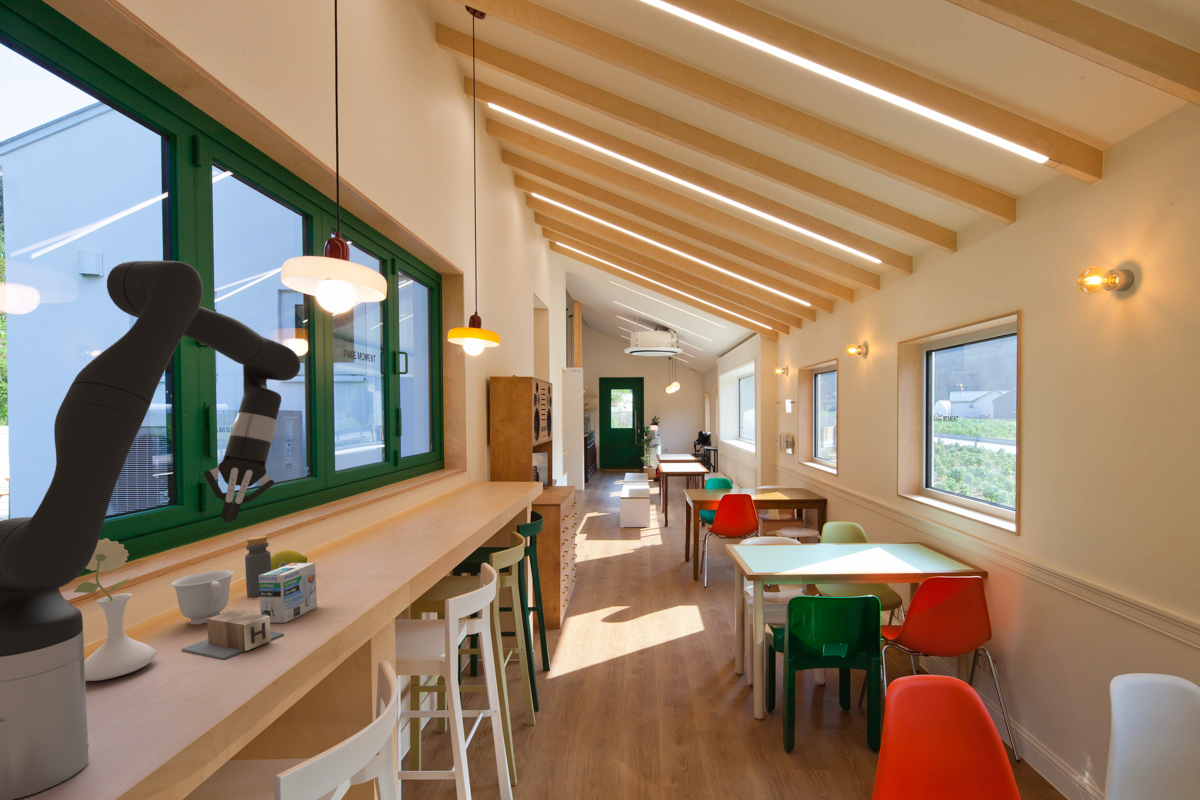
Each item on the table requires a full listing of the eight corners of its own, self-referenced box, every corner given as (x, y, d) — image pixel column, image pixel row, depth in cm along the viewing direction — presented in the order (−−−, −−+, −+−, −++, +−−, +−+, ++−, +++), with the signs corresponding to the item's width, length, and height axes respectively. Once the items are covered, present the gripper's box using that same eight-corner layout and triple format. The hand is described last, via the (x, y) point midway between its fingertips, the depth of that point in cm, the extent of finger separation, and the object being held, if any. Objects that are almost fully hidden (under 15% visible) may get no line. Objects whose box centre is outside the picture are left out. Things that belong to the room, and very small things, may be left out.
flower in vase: (172, 657, 109) (166, 528, 109) (120, 686, 97) (113, 542, 98) (107, 661, 109) (101, 533, 110) (47, 690, 98) (41, 546, 98)
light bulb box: (285, 623, 124) (282, 575, 124) (259, 623, 125) (256, 575, 125) (318, 606, 134) (316, 561, 135) (294, 606, 136) (292, 562, 136)
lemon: (260, 583, 159) (259, 555, 159) (275, 575, 167) (274, 549, 167) (299, 580, 160) (297, 552, 160) (312, 573, 167) (310, 546, 168)
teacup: (187, 636, 120) (185, 589, 120) (165, 624, 129) (163, 580, 129) (249, 617, 129) (247, 574, 130) (225, 607, 138) (223, 567, 139)
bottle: (248, 593, 150) (245, 537, 151) (273, 588, 153) (270, 533, 153) (245, 598, 145) (242, 541, 145) (271, 594, 147) (268, 537, 148)
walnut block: (244, 624, 108) (207, 618, 114) (246, 650, 108) (208, 643, 114) (269, 615, 113) (232, 610, 118) (271, 640, 113) (233, 634, 118)
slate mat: (283, 635, 116) (283, 633, 116) (224, 659, 106) (224, 657, 106) (242, 628, 122) (242, 626, 123) (181, 650, 112) (181, 648, 112)
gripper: (213, 429, 110) (186, 518, 105) (288, 442, 116) (265, 526, 112) (214, 433, 116) (189, 517, 112) (285, 445, 123) (264, 525, 118)
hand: (227, 522), depth 112 cm, fingers closed
